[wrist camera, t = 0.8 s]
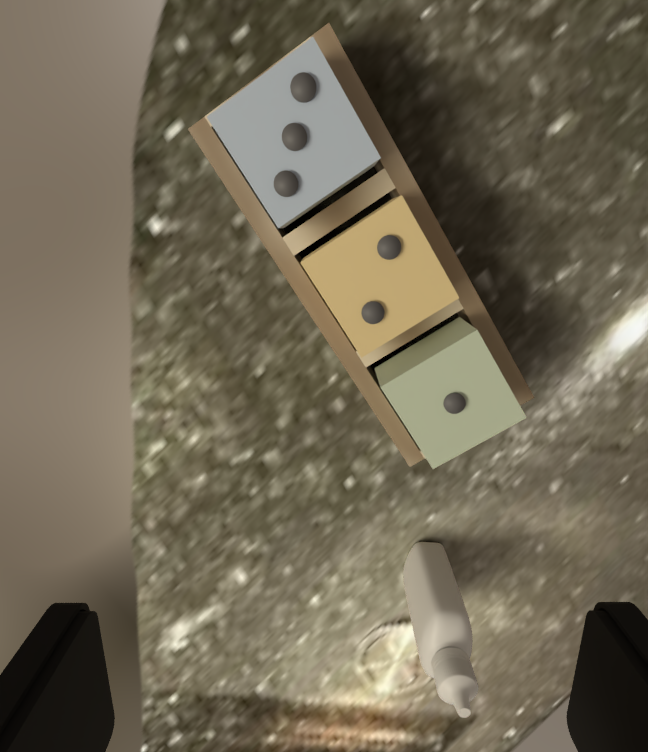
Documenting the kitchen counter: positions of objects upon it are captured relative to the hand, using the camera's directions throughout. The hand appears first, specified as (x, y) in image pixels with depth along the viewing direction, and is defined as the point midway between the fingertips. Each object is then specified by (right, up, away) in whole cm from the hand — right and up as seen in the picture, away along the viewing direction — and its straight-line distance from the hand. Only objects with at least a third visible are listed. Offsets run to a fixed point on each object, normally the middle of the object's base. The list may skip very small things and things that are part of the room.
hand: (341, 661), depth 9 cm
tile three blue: (-2, +18, +17) cm, 25 cm away
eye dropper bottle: (+8, -10, +30) cm, 32 cm away
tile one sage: (+7, +5, +21) cm, 23 cm away
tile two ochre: (+3, +12, +19) cm, 23 cm away
